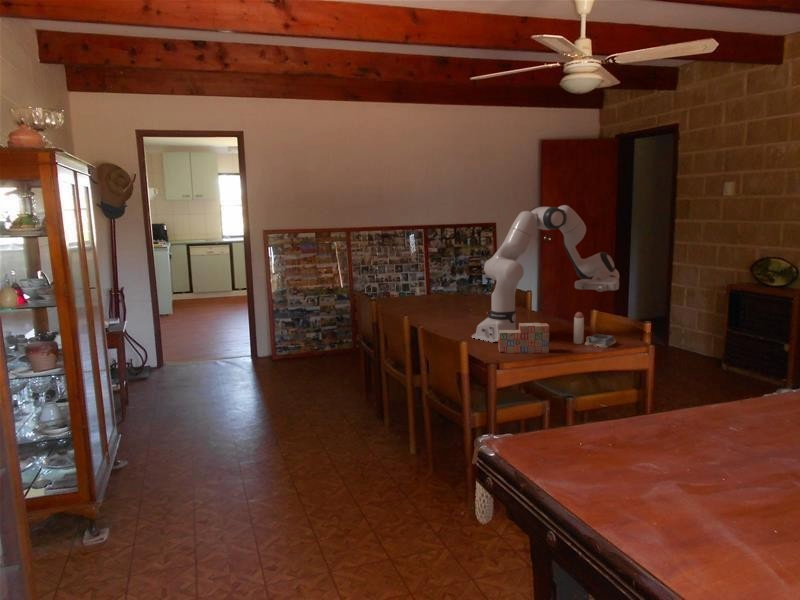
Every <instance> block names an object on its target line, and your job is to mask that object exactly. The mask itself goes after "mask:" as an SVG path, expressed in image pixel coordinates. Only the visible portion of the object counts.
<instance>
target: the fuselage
mask: <svg viewBox="0 0 800 600" xmlns="http://www.w3.org/2000/svg"><path fill="white" fill-rule="evenodd" d="M584 330H585V317H584V314H583V313H582V312H581V311H577V312H575V314H574V317H573V344H576V345H583V344H584V341H585V340H584V338H585V334H584V333H585V331H584ZM582 343H583V344H582Z"/></svg>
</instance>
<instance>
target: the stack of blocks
mask: <svg viewBox="0 0 800 600" xmlns="http://www.w3.org/2000/svg"><path fill="white" fill-rule="evenodd" d="M497 344H498V345H497V346H498V351H499V353H500V352H504V353H503V354H549V353H550V352H549V351H550V350H549V349H550V347H549V346H550V325H549V324H548V323H546V322H545V323H541V322H530V323H529V322H525V323H521V322H519V323H518V329H516V330H499V337H498V343H497Z"/></svg>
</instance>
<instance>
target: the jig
mask: <svg viewBox="0 0 800 600" xmlns="http://www.w3.org/2000/svg"><path fill="white" fill-rule="evenodd" d="M585 340H586V341H585V342H584V345H585V346H589V345H593V346H592V347H597V346H599V347H598V348H604V349H605V348H606V349H607V348H609V347H611V346H613V345H614V344H616V343H617V340H616V339H615V336H614V335H607V334H601V333H600V334H599V333H595V334H593V335H591V336H586V339H585Z"/></svg>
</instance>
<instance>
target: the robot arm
mask: <svg viewBox="0 0 800 600" xmlns="http://www.w3.org/2000/svg"><path fill="white" fill-rule="evenodd" d="M557 229H558V230H559V231H560V232H561V233H562V235H563V239H562V246H563V247H564V250H565V252H566V254H567V256H568V259H570V262H571V263H572V265H573V267H574V271H575V272H576V275H577V277H578V278H580V279H578V280H575V282H574V288H575V289H576V290H593V291H594V290H595V291H597V292H600V293H602V292H607V291H618V290H619V288H620V272H619V271H618V270H617V269H616V264H615V260H614V259H613V257H612V256H611V254H608V252H605V251H600V252H598V253H595V254H593V255H591V256H588V257H587V258H581V255H580V254H579V251H578V250H577V248H576V246H578V244H579V243H580V242H581V241H582V240H583V239H584V237H585V235H586V233H587V226H586V224H585V222H584V221H583V219H582V218H581V217H580V216H579V214H578V213H577V212H576V211H575V210H574V209H573V208H572V207H570V206H569V205H567V204H563V205H560V206H558V207H555V206H536V207H534V208H531V209H530V210H524V211H521V212H520V213H519V214H518V215H517V216H516V218H515V219H514V221H513V223H512V224H511V226H510V228H509V230H508V233H507V235H506V237H505V238H504V240H503V242H502V244H501V245H500V247H499V248H498V249H497V251H496V252H495V253H494V254H493V256H492V257H490V258H489V259H487V260H486V262H485V263H484V267H483V271H484V274H485V275H486V276H487V277H488V278H490V279H491V280H493V281H496V282H495V283H496V284H495V288H494V290H493V292H492V293H491V304H490V305H491V309H490V310H488V311H487V312H486V315H487V317H486V318H485V319H484V320H482V321H481V322H480V323H478V325H477V326H476V329H475V330H476V331H475V333H473V334H472V335H471V337H472V338H471V339H473V338H475V339H474V340H478V339H480V340H479V341H483V340H484V342H488V341H489V342H488V343H493V342H498V337H499V330H517V327H516V321H517V319H516V318H517V314H516V313H517V312H516V292H517V287H518V285H519V282H520V281H521V280H522V278H523V277H524V273H525V271H524V267H523V265H522V264H521V263H519V262H518V261H517V260H518V259H519V257H521V256H523V255H524V254H525V253H526V250H527V249H528V247H529V245H530V242H531V240H532V238H533V236H534V233H535V232H536V230H543V231H553V230H554V231H555V230H557Z"/></svg>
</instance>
